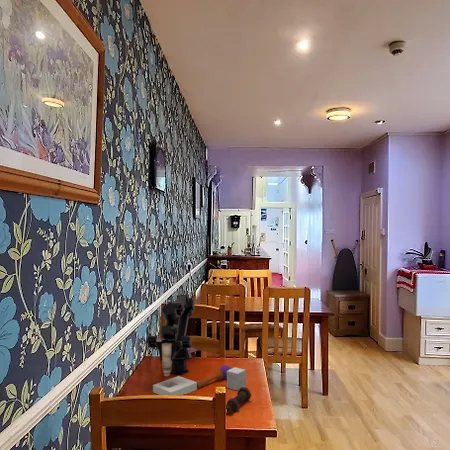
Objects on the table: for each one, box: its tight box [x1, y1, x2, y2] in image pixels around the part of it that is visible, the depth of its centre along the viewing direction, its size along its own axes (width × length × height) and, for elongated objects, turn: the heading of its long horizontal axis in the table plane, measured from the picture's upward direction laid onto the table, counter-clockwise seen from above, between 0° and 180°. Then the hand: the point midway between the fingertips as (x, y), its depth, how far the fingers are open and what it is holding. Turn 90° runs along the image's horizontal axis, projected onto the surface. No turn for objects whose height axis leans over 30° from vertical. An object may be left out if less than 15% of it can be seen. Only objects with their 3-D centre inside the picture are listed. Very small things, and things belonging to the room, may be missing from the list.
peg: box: [161, 343, 172, 377], centre depth 171 cm, size 4×4×13 cm
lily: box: [187, 347, 198, 358], centre depth 213 cm, size 12×12×10 cm
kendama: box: [194, 364, 232, 390], centre depth 180 cm, size 6×6×20 cm
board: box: [152, 375, 198, 396], centre depth 172 cm, size 14×12×3 cm
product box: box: [226, 366, 247, 392], centre depth 174 cm, size 6×6×7 cm
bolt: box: [225, 387, 252, 415], centre depth 155 cm, size 6×5×15 cm
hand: (166, 360), depth 170 cm, fingers closed on peg, 4 cm apart
